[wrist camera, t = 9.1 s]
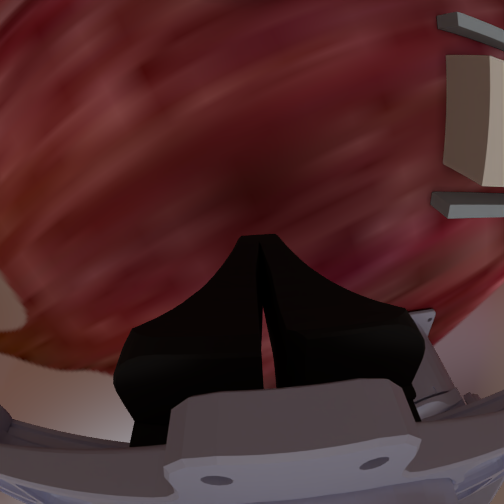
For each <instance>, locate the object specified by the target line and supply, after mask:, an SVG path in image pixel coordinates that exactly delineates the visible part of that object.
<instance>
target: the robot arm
mask: <svg viewBox="0 0 504 504" xmlns="http://www.w3.org/2000/svg"><path fill="white" fill-rule="evenodd" d="M263 308H264V313H265V318H266V323H267V328H268V332H269V337H270V342H271V347H272V352H273V358H274V366H275V377H276V388H273V389H264V388H263V372H262V356H261V341H262V314H263ZM435 314H436V313H435V311H434V310H433V309H429V310H423V311H416V312H410V313H408V312H407V310H406V309H405V308H402V307H398V306H394V305H390V304H386V303H382V302H378V301H375V300H372V299H369V298H367V297H364V296H361V295H359V294H356V293H354V292H351V291H349V290H347V289H345V288H343V287H341V286H339V285H337V284H335V283H333V282H331V281H330V280H328V279H326V278H325V277H323V276H322V275H320V274H319V273H317V272H316V271H314V270H313V269H311V268H310V267H309V266H308V265H306V264H305V263H304V262H303V261H302V260H300V259H299V258H298V257H297V256H296V255H295V254H294V253H293V252H292V251H291V250H290V249H289V248H288V247H287V246H286V245H285V243H284V242H283V241H282V240H281V239H280V238H279V237H278V236H277V235H276V234H264V235H249V236H241V237H240V238H239V239H238V241H237V243H236V245H235V247H234V249H233V250H232V252H231V254H230V255H229V257H228V258H227V259H226V261H225V262H224V264H223V265H222V266H221V268H220V269H219V270H218V271H217V272H216V274H215V275H214V276H213V277H212V278H211V279H210V280H209V282H208V283H207V284H206V285H205V286H203V287H202V288H201V289H200V290H199V291H198V292H196V293H195V294H194V295H192V296H191V297H190V298H188V299H187V300H186V301H184V302H183V303H182V304H180V305H178V306H177V307H175V308H174V309H172V310H170V311H168V312H167V313H165V314H163V315H161V316H159V317H157V318H155V319H153V320H151V321H149V322H146V323H144V324H142V325H140V326H138V327H135V328H132V330H131V332H130V334H129V336H128V338H127V340H126V342H125V344H124V346H123V349H122V351H121V354H120V357H119V360H118V363H117V366H116V369H115V372H114V377H113V384H114V387H115V389H116V392H117V394H118V395H119V397H120V399H121V400H122V402H123V404H124V405H125V407H126V409H127V410H128V412H129V413H130V415H131V416H132V418H133V420H134V421H135V422H134V426H133V431H132V436H131V440H130V443H126V442H118V441H111V440H103V439H98V438H92V437H86V436H81V435H75V434H70V433H66V432H61V431H57V430H52V429H47V428H44V427H40V426H36V425H32V424H29V423H25V422H21V421H18V420H14V419H12V417H11V416H10V414H9V413H8V412H7V411H6V410H5V409H4V408H3V407H2V406H1V405H0V491H1V492H3V493H5V494H7V495H9V496H11V497H13V498H15V499H17V500H19V501H22V502H24V503H26V504H490V502H491V501H492V499H493V498H494V496H495V495H496V493H497V491H498V490H499V488H500V486H501V485H502V483H503V482H504V390H502V391H500V392H497V393H495V394H493V395H490V396H488V397H485V398H483V399H481V398H480V397H479V396H478V395H477V394H471V393H470V392H469V393H467V394H465V395H464V399H465V401H466V403H467V405H465V403H464V401H463V399H462V397H461V395H460V393H459V391H458V389H457V388H455V386H454V384H453V383H452V380H451V378H450V377H449V375H448V373H447V371H446V369H445V367H444V365H443V364H442V362H441V360H440V358H439V356H438V354H437V353H436V351H435V349H434V347H433V346H432V344H431V342H430V340H429V339H428V337H427V336H428V334H429V331H430V328H431V326H432V323H433V320H434V317H435Z"/></svg>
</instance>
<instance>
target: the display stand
mask: <svg viewBox="0 0 504 504" xmlns="http://www.w3.org/2000/svg"><path fill="white" fill-rule="evenodd" d="M437 26H438V29H440V30H444V31H448V32H451V33H454V34H458V35H461V36H464V37H467V38H470V39H473V40H476V41H479V42H482V43H484V44H487V45H490V46H492V47H495V48H498V49H500V50H503V51H504V30H502V29H500V28H498V27H495V26H493V25H491V24H488V23H486V22H483V21H481V20H478V19H476V18H473V17H470V16H468V15H465V14H462V13H459V12H454V13H448V14H443V15H439V16H437ZM430 205H432V206H433V207H434V208H435V209H437V210H438V211H439V212H440V213H442V214H443V215H444V216H445V217H446V218H483V217H504V194H501V193H473V192H432V197H431V204H430Z"/></svg>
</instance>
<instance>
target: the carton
mask: <svg viewBox="0 0 504 504" xmlns="http://www.w3.org/2000/svg"><path fill="white" fill-rule="evenodd" d="M446 75H447V102H446V129H445V144H444V156H443V164H444V165H446V166H448V167H450V168H451V169H453V170H455V171H457V172H459V173H460V174H462V175H464V176H466V177H468V178H469V179H471V180H473V181H474V182H476V183H478V184H479V185H481V186H495V187H504V61H503V60H500V59H497V58H495V57H492V56H484V55H446Z"/></svg>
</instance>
